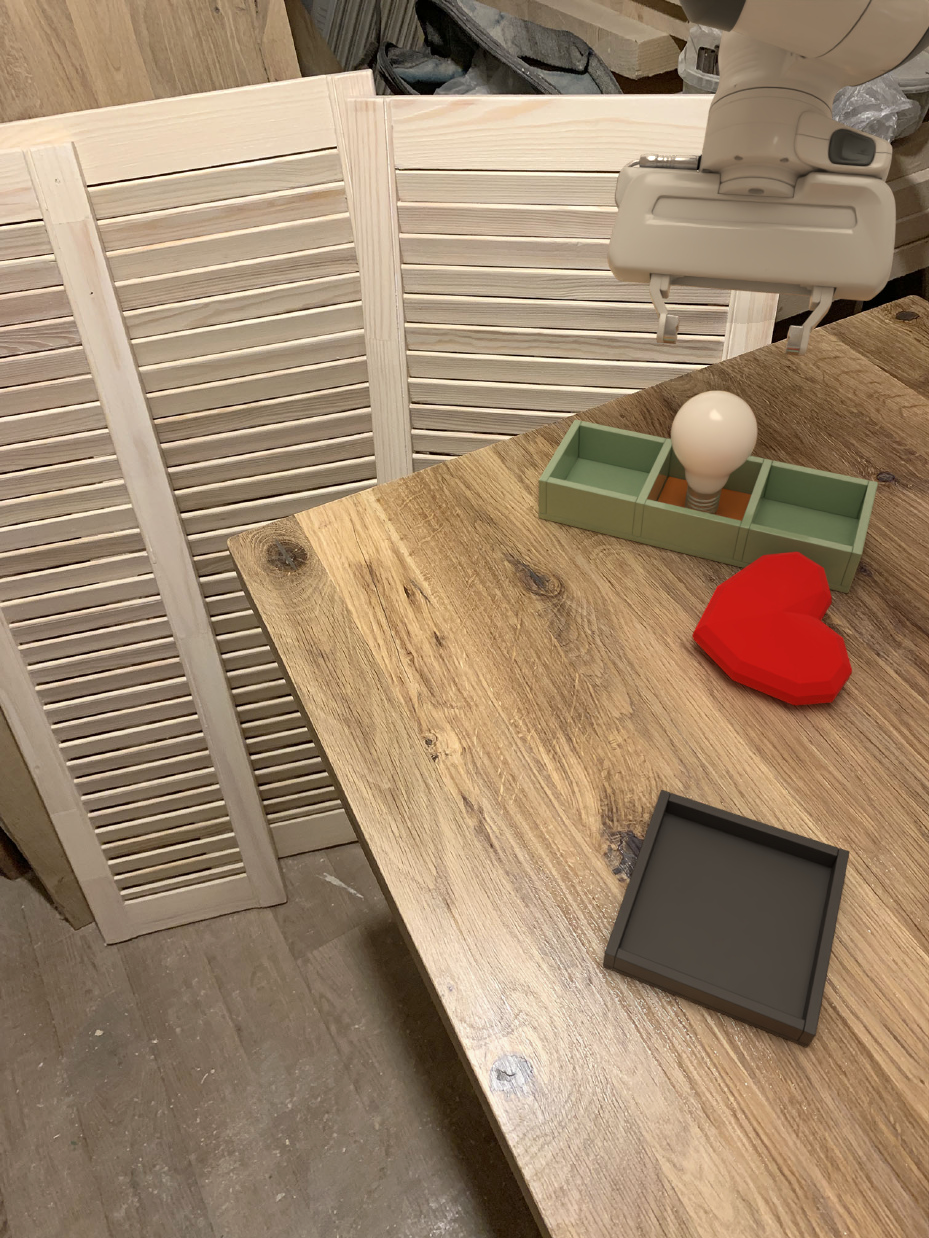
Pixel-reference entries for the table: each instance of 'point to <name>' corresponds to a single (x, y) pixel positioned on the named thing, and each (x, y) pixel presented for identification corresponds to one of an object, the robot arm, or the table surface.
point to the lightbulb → (712, 444)
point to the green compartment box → (736, 534)
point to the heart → (776, 630)
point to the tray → (731, 916)
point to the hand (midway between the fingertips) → (729, 347)
